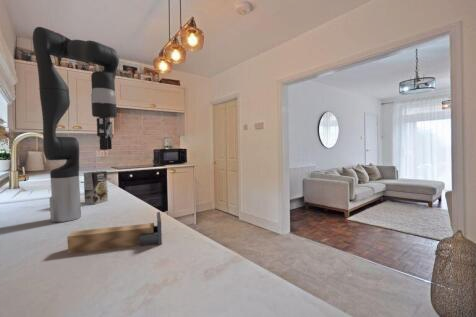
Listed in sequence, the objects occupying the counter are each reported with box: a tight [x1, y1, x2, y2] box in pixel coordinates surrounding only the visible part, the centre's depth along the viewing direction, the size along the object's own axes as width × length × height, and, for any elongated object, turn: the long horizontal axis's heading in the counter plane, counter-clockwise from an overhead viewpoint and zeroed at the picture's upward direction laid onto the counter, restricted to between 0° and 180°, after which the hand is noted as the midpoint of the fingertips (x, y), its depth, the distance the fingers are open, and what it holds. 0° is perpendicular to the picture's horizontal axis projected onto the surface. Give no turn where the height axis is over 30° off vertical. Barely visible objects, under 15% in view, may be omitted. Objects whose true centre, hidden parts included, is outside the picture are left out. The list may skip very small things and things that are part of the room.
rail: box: [66, 222, 155, 255], centre depth 68 cm, size 22×4×5 cm, turn 107°
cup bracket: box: [139, 211, 163, 247], centre depth 72 cm, size 6×10×7 cm, turn 20°
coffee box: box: [83, 170, 109, 205], centre depth 122 cm, size 9×6×16 cm
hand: (106, 149), depth 82 cm, fingers open, 8 cm apart
